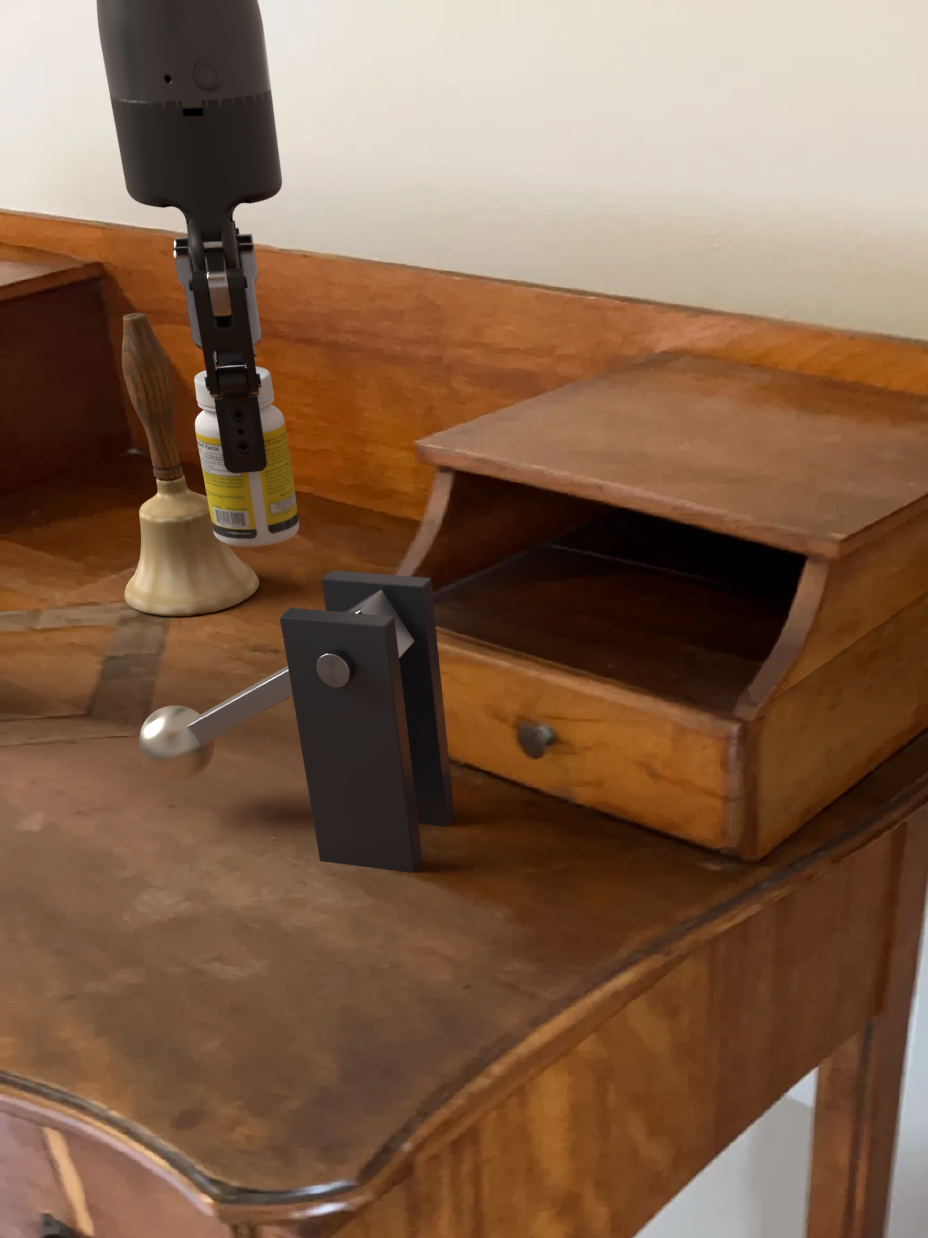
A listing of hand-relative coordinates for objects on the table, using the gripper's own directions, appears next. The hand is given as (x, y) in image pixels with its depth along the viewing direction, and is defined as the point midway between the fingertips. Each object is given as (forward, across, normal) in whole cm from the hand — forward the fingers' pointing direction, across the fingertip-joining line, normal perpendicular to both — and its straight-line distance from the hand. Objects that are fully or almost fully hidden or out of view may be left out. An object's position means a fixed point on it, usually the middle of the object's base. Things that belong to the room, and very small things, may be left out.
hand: (244, 453), depth 83 cm
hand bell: (+11, -9, -4) cm, 15 cm away
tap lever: (+4, +26, 0) cm, 26 cm away
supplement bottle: (+5, 0, 0) cm, 5 cm away
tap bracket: (+10, +28, +4) cm, 30 cm away
